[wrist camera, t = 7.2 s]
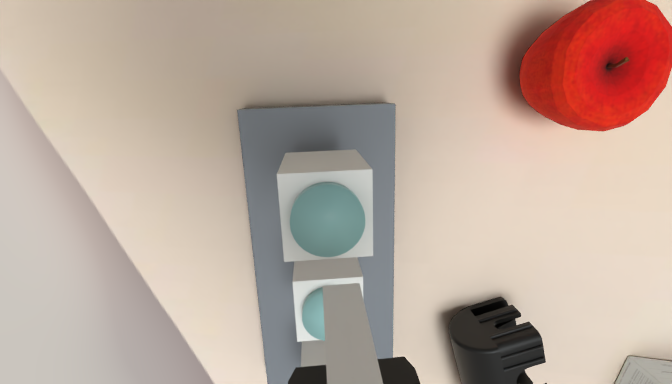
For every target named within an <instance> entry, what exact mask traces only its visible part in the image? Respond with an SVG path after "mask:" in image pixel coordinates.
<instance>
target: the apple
mask: <svg viewBox="0 0 672 384" xmlns="http://www.w3.org/2000/svg"><path fill="white" fill-rule="evenodd" d="M671 68H672V26H671V25H670V24H669V22H668V21H667V19H666V18H665V17H664V15H663V14H662V12H661V11H660V10H659V8H658V7H657V6H656V5H654V4H652V3H650V2H648V1H646V0H591V1H589V2H587V3H585V4H584V5H582V6H580V7H578V8H577V9H575V10H573V11H571V12H570V13H568V14H566V15H565V16H563V17H562V18H560V19H559V20H558V21H557V22H555V23H554V24H553V25H552V26H550V27H549V28H548V29H546V30H545V31H544V32H543V33H542V34H541V35H540V36H539V37H538V38H537V40H536V41H535V42H534V43H533V44H532V45H531V47H530V48H529V49H528V50H527V52H526V54H525V55H524V57H523V59H522V63H521V68H520V86H521V90H522V94H523V96H524V98H525V99H526V101H527V102H528V103H529V105H530V106H531V107H532V108H534V109H535V110H536V111H537V112H538V113H540V114H542V115H543V116H545V117H547V118H549V119H551V120H553V121H555V122H557V123H559V124H561V125H564V126H567V127H571V128H574V129H577V130H592V131H606V130H610V129H614V128H618V127H621V126H624V125H626V124H628V123H630V122H631V121H633V120H634V119H636V118H637V117H638V116H640V115H641V114H643V113H644V112H646V111H647V110H648V109H649V108H650V107H651V105H652V104H653V103H654V101H655V100H656V99H657V97H658V96H659V95H660V93H661V92H662V91H663V89H664V88H665V87H666V84H667V81H668V78H669V75H670V71H671Z"/></svg>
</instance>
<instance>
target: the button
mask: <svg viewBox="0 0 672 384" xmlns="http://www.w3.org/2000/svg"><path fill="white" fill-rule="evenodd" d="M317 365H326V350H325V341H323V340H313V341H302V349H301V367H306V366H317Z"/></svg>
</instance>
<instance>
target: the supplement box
mask: <svg viewBox="0 0 672 384" xmlns="http://www.w3.org/2000/svg"><path fill="white" fill-rule="evenodd" d="M615 384H672V361H665V360H657V359H650V358H642V357H634V356H628V358H627V360H626V362H625V364H624V366H623V368H622V370H621V372H620V374H619V376H618V378H617V380H616V382H615Z"/></svg>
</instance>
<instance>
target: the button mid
mask: <svg viewBox="0 0 672 384" xmlns="http://www.w3.org/2000/svg"><path fill="white" fill-rule="evenodd" d="M352 283H360V287H361V292H362V296H363V275H362V272H361V268H360V265H359V261H358V258H357V257H351V258H336V259H321V260H306V261H294V271H293V295H294V307H295V320H296V333H297V342H301V341H313V340H323V341H325V329H324V308H323V287H322V286H326V285H339V284H352Z"/></svg>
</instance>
